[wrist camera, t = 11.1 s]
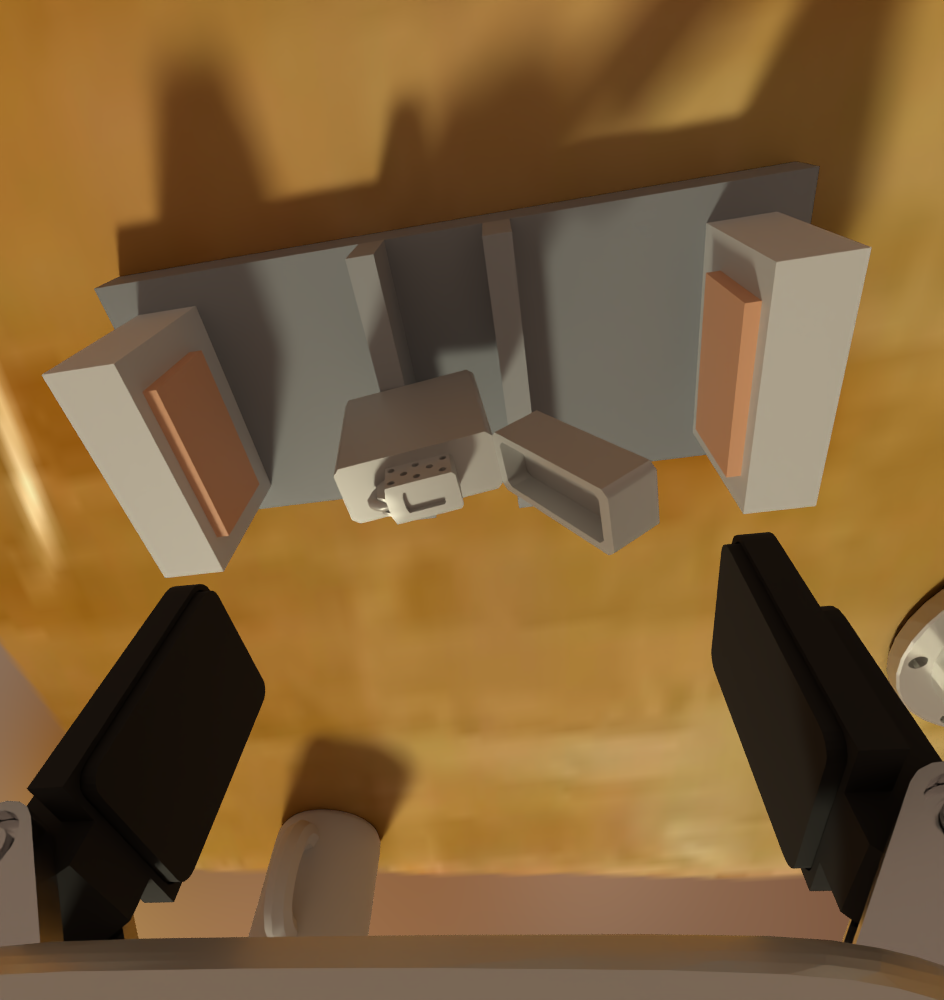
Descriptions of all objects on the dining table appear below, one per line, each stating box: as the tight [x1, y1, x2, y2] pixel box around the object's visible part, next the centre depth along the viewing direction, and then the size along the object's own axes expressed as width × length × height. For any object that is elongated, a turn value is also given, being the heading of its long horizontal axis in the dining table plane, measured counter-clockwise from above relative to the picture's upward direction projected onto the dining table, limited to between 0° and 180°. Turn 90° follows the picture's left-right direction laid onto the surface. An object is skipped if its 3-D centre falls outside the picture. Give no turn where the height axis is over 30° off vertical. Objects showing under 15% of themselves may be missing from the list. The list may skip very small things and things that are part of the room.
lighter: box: [334, 370, 659, 555], centre depth 15 cm, size 7×2×8 cm, turn 103°
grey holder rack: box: [42, 162, 872, 578], centre depth 18 cm, size 22×9×6 cm, turn 99°
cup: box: [249, 809, 380, 937], centre depth 37 cm, size 7×10×9 cm
